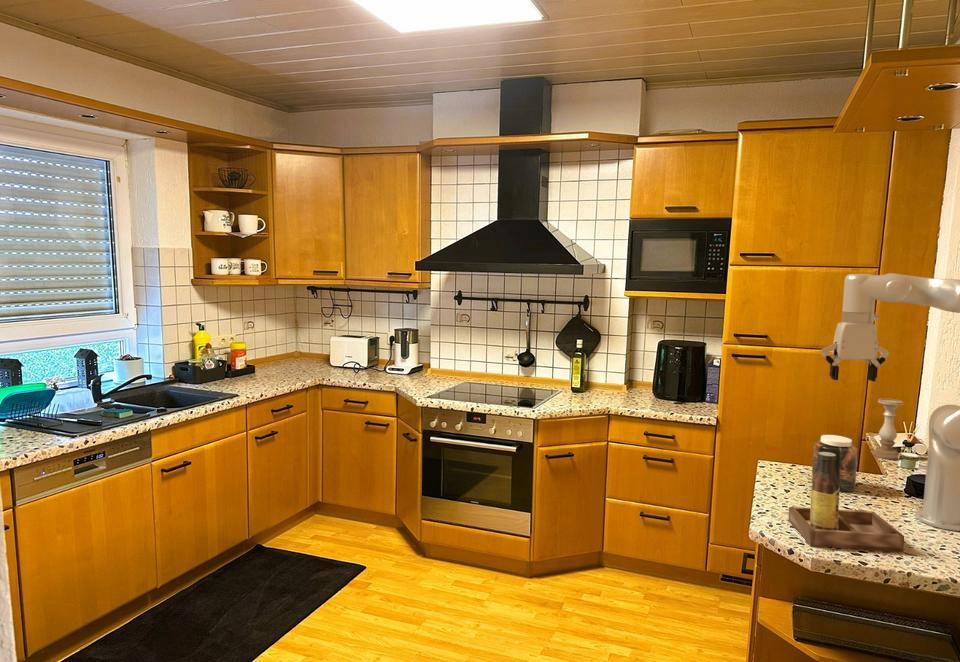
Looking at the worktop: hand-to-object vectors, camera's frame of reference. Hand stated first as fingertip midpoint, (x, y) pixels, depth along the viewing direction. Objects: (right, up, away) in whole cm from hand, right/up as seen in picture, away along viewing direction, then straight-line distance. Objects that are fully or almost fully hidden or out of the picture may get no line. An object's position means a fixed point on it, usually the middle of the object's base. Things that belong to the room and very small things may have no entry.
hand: (852, 380), depth 176 cm
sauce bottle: (-17, -37, -15) cm, 44 cm away
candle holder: (+42, -32, +51) cm, 73 cm away
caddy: (-12, -38, -16) cm, 43 cm away
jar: (+6, -35, +20) cm, 40 cm away
